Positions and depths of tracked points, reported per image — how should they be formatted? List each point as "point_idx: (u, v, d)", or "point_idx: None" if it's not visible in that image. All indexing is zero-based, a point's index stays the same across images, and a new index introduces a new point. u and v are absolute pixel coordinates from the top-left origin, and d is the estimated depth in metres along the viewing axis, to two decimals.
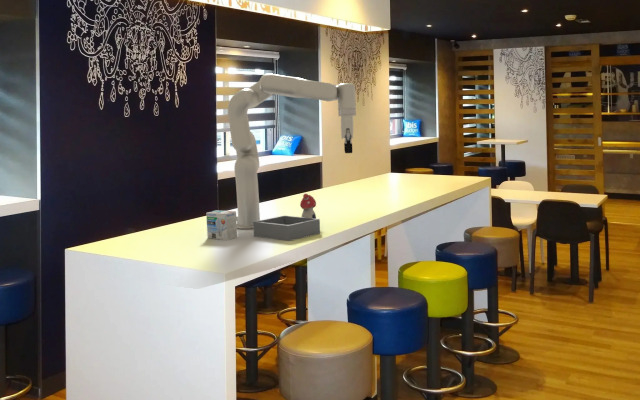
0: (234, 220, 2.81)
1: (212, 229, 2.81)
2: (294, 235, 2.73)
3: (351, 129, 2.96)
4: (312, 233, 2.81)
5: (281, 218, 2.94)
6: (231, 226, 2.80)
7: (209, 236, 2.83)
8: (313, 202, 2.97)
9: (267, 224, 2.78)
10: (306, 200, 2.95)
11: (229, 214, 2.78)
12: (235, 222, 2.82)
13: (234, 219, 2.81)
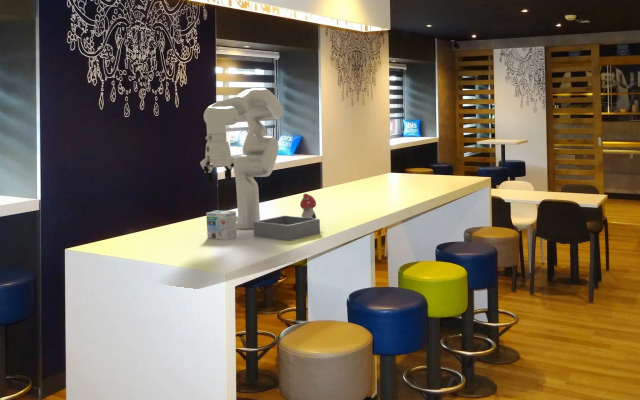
0: (234, 220, 2.81)
1: (212, 229, 2.81)
2: (294, 235, 2.73)
3: None
4: (312, 233, 2.81)
5: (281, 218, 2.94)
6: (231, 226, 2.80)
7: (209, 236, 2.83)
8: (313, 202, 2.97)
9: (267, 224, 2.78)
10: (306, 200, 2.95)
11: (229, 214, 2.78)
12: (235, 222, 2.82)
13: (234, 219, 2.81)
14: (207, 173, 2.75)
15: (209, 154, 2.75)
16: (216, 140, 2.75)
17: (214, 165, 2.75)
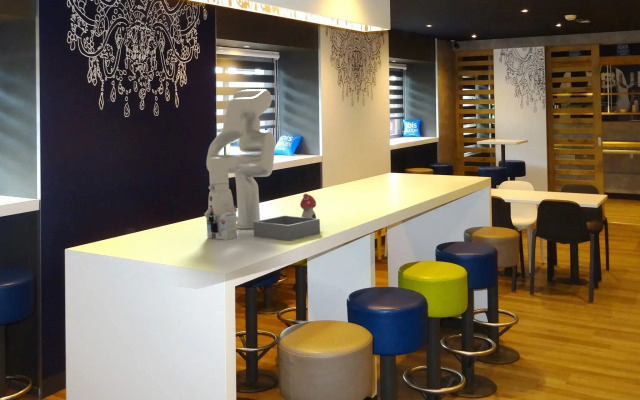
0: (234, 220, 2.81)
1: None
2: (294, 235, 2.73)
3: None
4: (312, 233, 2.81)
5: (281, 218, 2.94)
6: (231, 226, 2.80)
7: (209, 236, 2.83)
8: (313, 202, 2.97)
9: (267, 224, 2.78)
10: (306, 200, 2.95)
11: (229, 214, 2.78)
12: (235, 222, 2.82)
13: (234, 219, 2.81)
14: (212, 223, 2.79)
15: (212, 204, 2.77)
16: (219, 190, 2.77)
17: (217, 215, 2.77)
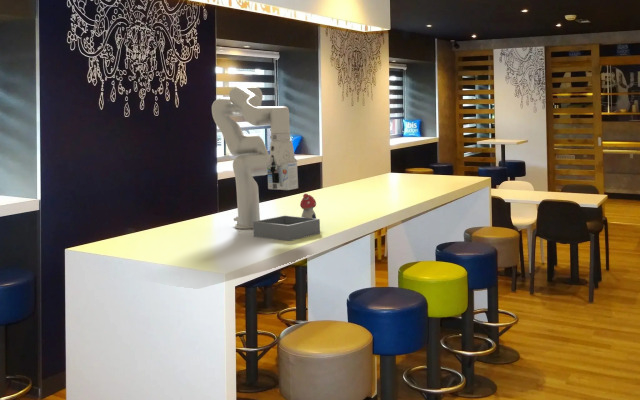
0: (295, 170, 2.79)
1: None
2: (294, 235, 2.73)
3: None
4: (312, 233, 2.81)
5: (281, 218, 2.94)
6: (292, 176, 2.78)
7: (270, 187, 2.81)
8: (313, 202, 2.97)
9: (267, 224, 2.78)
10: (306, 200, 2.95)
11: (291, 164, 2.77)
12: (296, 172, 2.80)
13: (295, 169, 2.79)
14: (273, 173, 2.77)
15: (274, 153, 2.75)
16: (281, 139, 2.75)
17: (279, 164, 2.76)
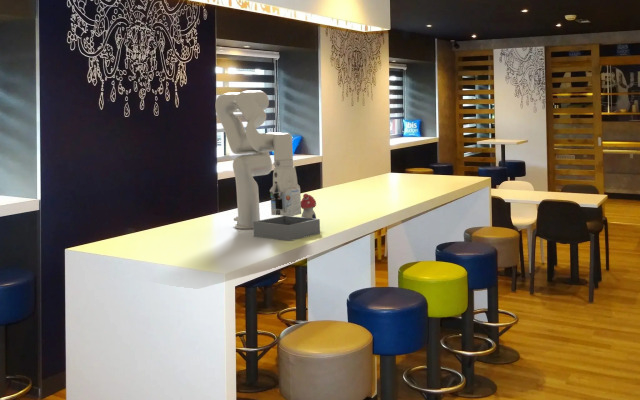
0: (298, 196, 2.81)
1: None
2: (294, 235, 2.73)
3: None
4: (312, 233, 2.81)
5: (281, 218, 2.94)
6: (296, 202, 2.79)
7: (273, 213, 2.82)
8: (313, 202, 2.97)
9: (267, 224, 2.78)
10: (306, 200, 2.95)
11: (294, 190, 2.78)
12: (299, 198, 2.81)
13: (298, 195, 2.81)
14: (277, 200, 2.78)
15: (277, 180, 2.77)
16: (284, 166, 2.77)
17: (282, 191, 2.77)
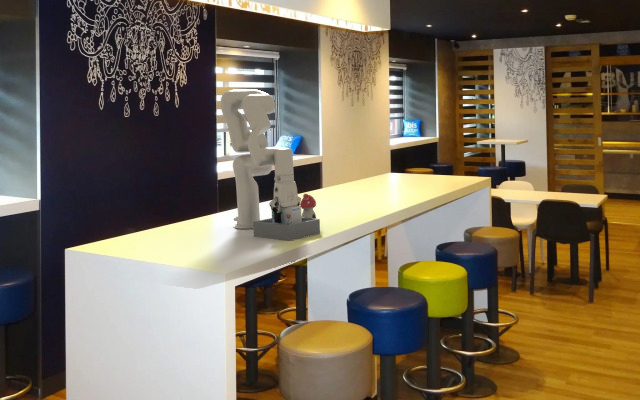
0: (299, 214, 2.82)
1: (278, 223, 2.82)
2: (294, 235, 2.73)
3: None
4: (312, 233, 2.81)
5: None
6: (296, 221, 2.80)
7: None
8: (313, 202, 2.97)
9: (267, 224, 2.78)
10: (306, 200, 2.95)
11: (294, 208, 2.79)
12: (300, 216, 2.82)
13: (299, 213, 2.82)
14: (276, 213, 2.79)
15: (278, 195, 2.78)
16: (285, 181, 2.78)
17: (283, 206, 2.78)
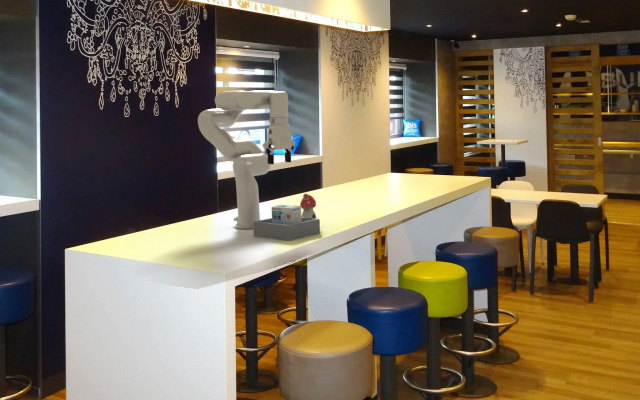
0: (299, 214, 2.82)
1: (278, 223, 2.82)
2: (294, 235, 2.73)
3: None
4: (312, 233, 2.81)
5: None
6: (296, 221, 2.80)
7: None
8: (313, 202, 2.97)
9: (267, 224, 2.78)
10: (306, 200, 2.95)
11: (294, 208, 2.79)
12: (300, 216, 2.82)
13: (299, 213, 2.82)
14: (269, 155, 2.85)
15: (271, 137, 2.84)
16: (279, 123, 2.84)
17: (276, 147, 2.84)
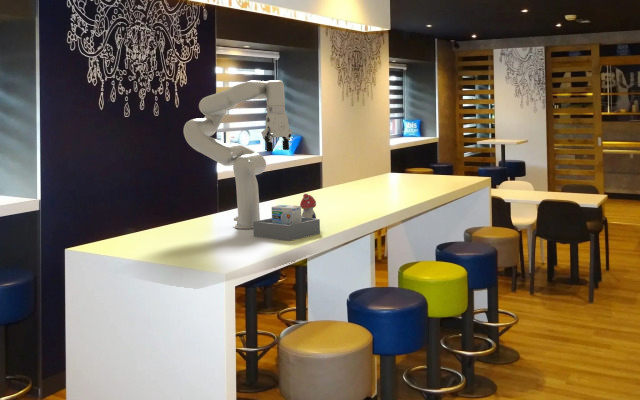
0: (299, 214, 2.82)
1: (278, 223, 2.82)
2: (294, 235, 2.73)
3: None
4: (312, 233, 2.81)
5: None
6: (296, 221, 2.80)
7: None
8: (313, 202, 2.97)
9: (267, 224, 2.78)
10: (306, 200, 2.95)
11: (294, 208, 2.79)
12: (300, 216, 2.82)
13: (299, 213, 2.82)
14: (267, 142, 2.92)
15: (269, 124, 2.91)
16: (276, 111, 2.91)
17: (274, 135, 2.92)
